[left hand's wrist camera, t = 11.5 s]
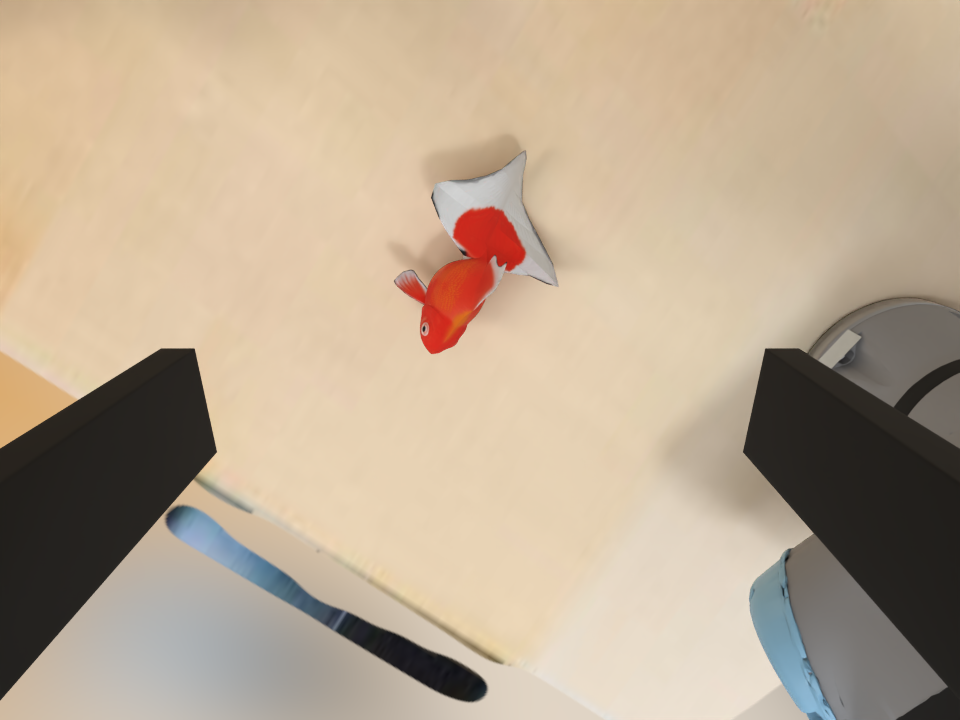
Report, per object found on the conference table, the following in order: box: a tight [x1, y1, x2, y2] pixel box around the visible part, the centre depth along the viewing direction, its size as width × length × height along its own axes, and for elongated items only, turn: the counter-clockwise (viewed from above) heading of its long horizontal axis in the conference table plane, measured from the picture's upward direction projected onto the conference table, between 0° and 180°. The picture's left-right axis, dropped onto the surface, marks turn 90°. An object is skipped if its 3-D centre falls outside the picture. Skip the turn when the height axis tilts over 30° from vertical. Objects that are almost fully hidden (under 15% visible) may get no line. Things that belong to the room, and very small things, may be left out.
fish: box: [394, 151, 559, 354], centre depth 39 cm, size 11×16×10 cm
